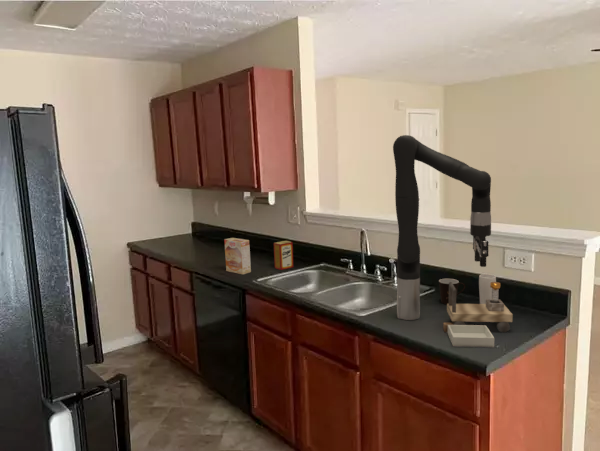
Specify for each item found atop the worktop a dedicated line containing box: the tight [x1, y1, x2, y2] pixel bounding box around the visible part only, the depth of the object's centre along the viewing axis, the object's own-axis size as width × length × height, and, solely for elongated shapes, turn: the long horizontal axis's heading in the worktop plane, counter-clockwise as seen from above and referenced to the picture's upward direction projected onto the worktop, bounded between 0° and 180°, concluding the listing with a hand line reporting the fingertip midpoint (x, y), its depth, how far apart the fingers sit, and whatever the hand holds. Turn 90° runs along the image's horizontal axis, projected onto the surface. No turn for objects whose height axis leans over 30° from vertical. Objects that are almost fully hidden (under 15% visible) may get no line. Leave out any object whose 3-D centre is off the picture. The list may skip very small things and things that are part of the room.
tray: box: [446, 324, 495, 348], centre depth 176 cm, size 14×12×4 cm
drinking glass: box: [478, 273, 497, 304], centre depth 207 cm, size 7×7×15 cm
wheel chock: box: [442, 322, 454, 333], centre depth 186 cm, size 4×3×3 cm
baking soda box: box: [273, 240, 294, 271], centre depth 291 cm, size 10×6×16 cm
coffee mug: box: [438, 278, 466, 305], centre depth 217 cm, size 12×9×10 cm
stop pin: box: [490, 281, 501, 303], centre depth 186 cm, size 4×4×10 cm
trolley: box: [446, 282, 514, 334], centre depth 188 cm, size 22×12×17 cm, turn 82°
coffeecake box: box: [223, 237, 252, 275], centre depth 286 cm, size 15×7×20 cm, turn 49°
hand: (480, 263), depth 188 cm, fingers open, 8 cm apart
